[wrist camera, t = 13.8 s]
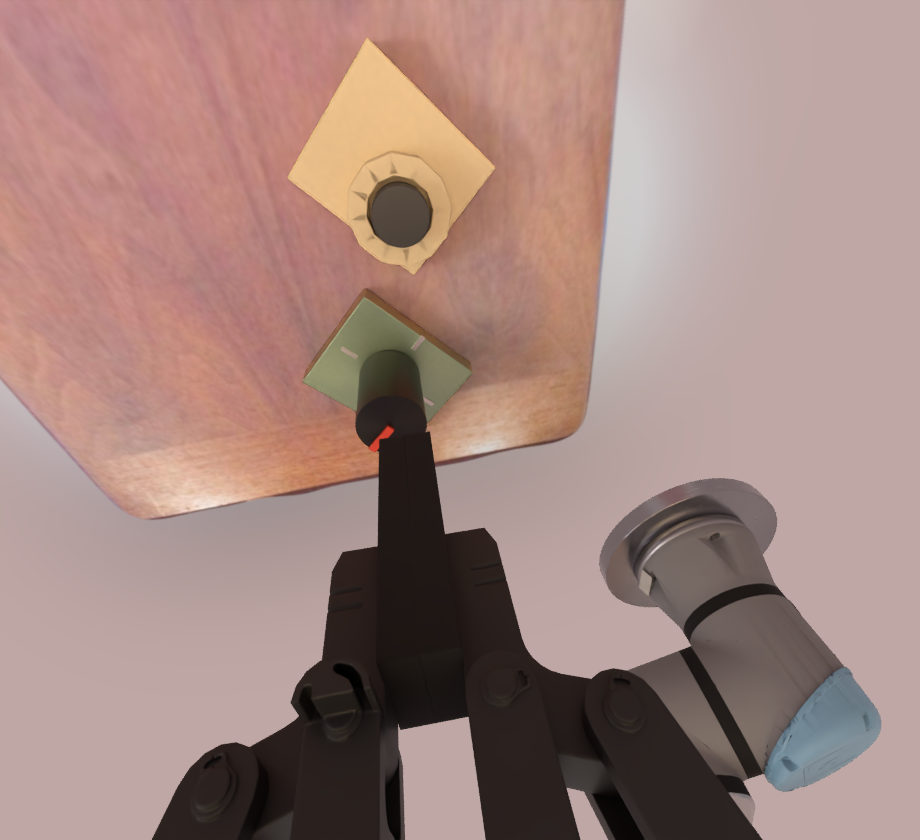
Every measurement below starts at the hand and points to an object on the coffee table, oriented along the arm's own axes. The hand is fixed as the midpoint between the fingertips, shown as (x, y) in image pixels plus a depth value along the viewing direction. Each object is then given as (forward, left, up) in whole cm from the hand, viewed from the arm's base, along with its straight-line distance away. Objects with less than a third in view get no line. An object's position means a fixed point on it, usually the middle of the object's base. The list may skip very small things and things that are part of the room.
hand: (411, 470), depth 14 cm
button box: (+3, -5, -25) cm, 25 cm away
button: (+2, -3, -21) cm, 21 cm away
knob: (-5, +8, -23) cm, 24 cm away
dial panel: (-5, +8, -25) cm, 26 cm away
